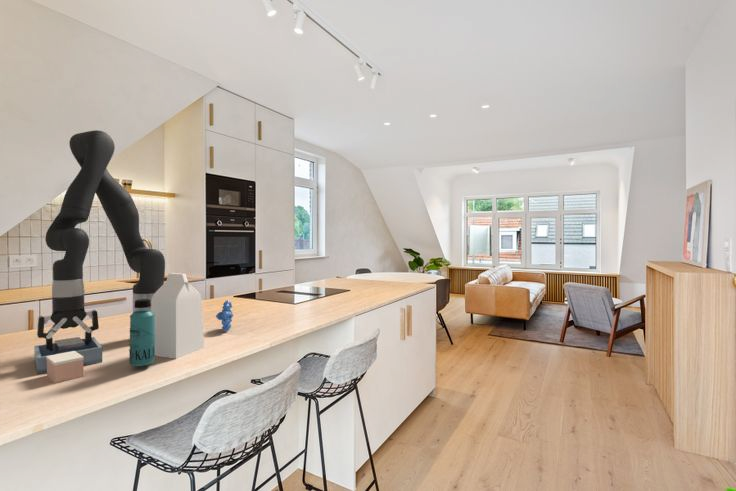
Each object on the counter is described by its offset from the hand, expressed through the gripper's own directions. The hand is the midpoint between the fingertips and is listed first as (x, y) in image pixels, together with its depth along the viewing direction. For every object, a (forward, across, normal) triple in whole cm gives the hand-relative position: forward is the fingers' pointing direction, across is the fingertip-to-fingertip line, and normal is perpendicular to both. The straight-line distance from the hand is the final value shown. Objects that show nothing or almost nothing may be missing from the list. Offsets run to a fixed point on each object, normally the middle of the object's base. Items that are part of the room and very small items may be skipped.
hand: (69, 347), depth 112 cm
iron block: (+3, 0, 0) cm, 3 cm away
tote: (+4, 0, 0) cm, 4 cm away
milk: (+5, -27, +11) cm, 29 cm away
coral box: (+4, +2, +13) cm, 14 cm away
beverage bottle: (+4, -14, +20) cm, 25 cm away
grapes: (+5, -50, -4) cm, 50 cm away
